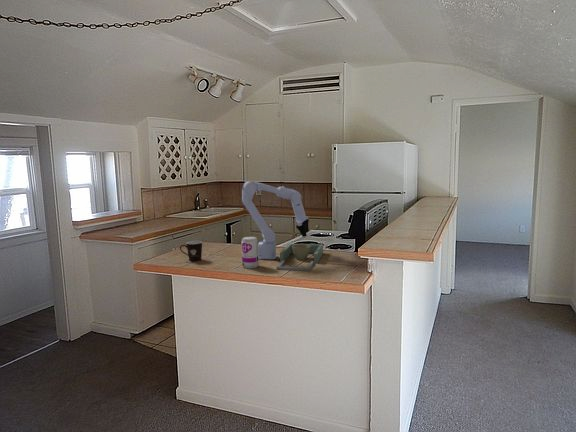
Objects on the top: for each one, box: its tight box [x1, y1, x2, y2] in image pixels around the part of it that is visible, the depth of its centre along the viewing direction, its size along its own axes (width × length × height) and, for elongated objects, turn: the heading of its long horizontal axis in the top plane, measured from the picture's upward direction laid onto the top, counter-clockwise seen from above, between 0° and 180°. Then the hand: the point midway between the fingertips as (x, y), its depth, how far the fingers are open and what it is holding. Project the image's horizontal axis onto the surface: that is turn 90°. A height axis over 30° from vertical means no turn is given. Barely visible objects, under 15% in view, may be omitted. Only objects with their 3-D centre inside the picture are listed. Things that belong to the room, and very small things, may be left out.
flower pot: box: [292, 243, 310, 261], centre depth 232 cm, size 10×10×7 cm
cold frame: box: [279, 243, 324, 264], centre depth 235 cm, size 20×23×5 cm
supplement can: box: [240, 236, 259, 269], centre depth 218 cm, size 8×8×15 cm
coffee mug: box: [179, 240, 203, 263], centre depth 235 cm, size 12×9×10 cm
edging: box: [276, 259, 315, 272], centre depth 217 cm, size 16×14×1 cm
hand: (305, 234), depth 239 cm, fingers open, 7 cm apart
